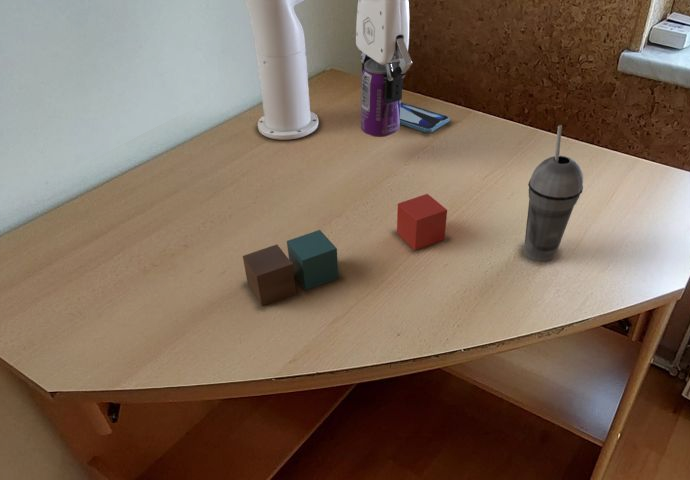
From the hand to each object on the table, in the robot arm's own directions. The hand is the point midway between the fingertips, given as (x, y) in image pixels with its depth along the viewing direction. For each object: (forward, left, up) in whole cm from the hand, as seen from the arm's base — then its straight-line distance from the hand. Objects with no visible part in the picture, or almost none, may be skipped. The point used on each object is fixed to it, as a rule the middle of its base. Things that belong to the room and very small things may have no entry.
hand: (381, 92), depth 109 cm
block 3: (+26, -8, -12) cm, 29 cm away
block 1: (+26, -34, -12) cm, 44 cm away
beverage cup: (+39, +5, -12) cm, 41 cm away
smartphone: (-10, +13, -12) cm, 21 cm away
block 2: (+26, -27, -12) cm, 39 cm away
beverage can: (0, 0, -7) cm, 7 cm away
